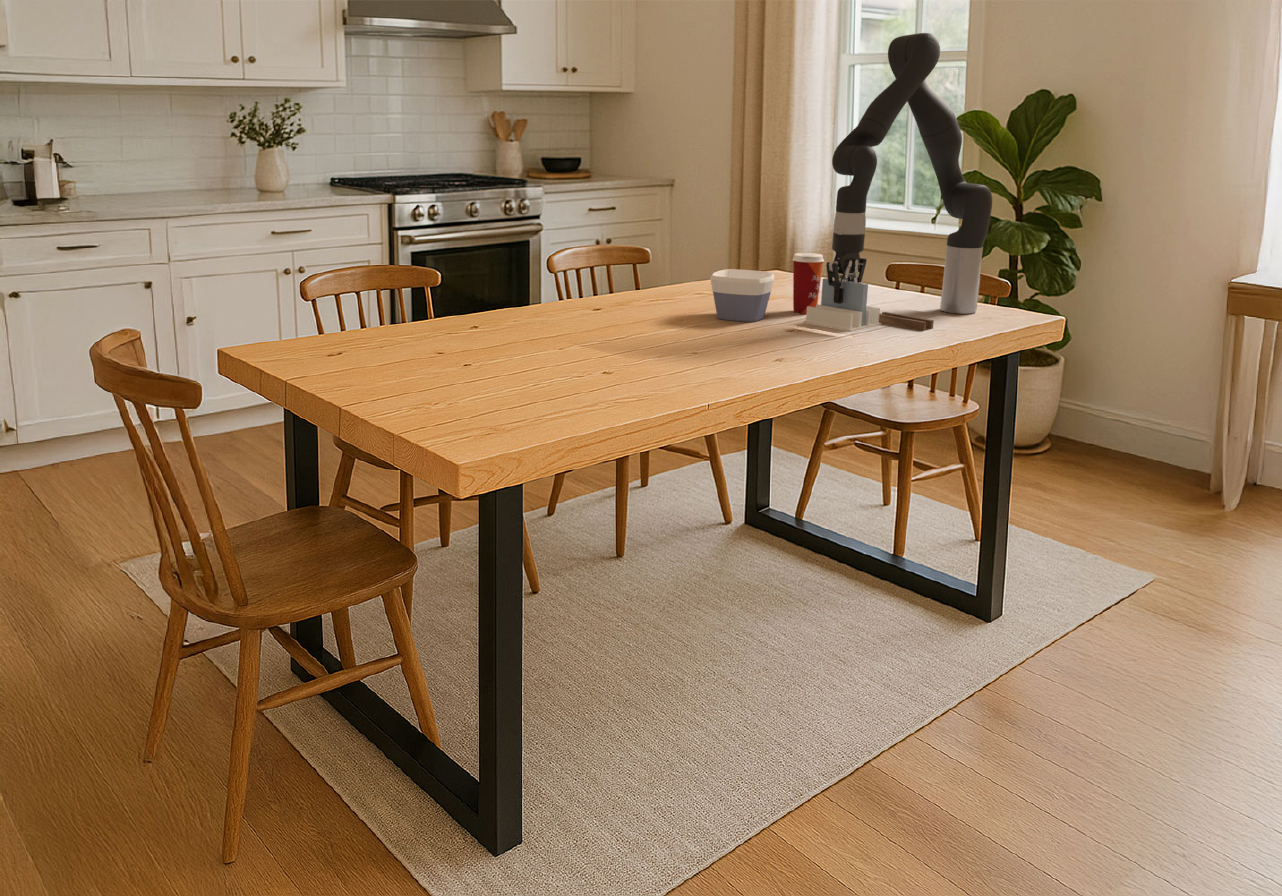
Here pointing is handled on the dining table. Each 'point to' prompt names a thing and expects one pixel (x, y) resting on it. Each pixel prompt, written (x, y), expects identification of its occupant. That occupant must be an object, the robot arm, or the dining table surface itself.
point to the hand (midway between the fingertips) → (843, 301)
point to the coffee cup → (806, 280)
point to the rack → (841, 317)
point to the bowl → (741, 294)
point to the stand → (905, 321)
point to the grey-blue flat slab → (847, 297)
